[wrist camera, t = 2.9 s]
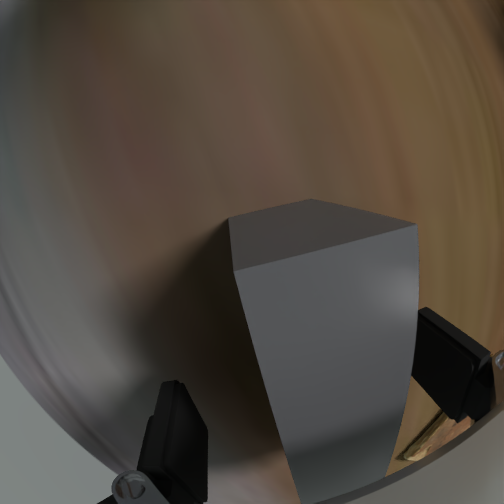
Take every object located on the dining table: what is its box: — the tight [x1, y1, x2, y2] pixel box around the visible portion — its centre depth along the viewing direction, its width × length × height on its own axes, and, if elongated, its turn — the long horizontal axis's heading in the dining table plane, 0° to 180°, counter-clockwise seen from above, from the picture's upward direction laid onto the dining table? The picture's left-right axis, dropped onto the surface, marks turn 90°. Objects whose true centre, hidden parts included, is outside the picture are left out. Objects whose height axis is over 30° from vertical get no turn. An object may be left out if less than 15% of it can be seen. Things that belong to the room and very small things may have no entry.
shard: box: [403, 354, 493, 461], centre depth 14 cm, size 11×8×2 cm
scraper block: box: [228, 199, 419, 504], centre depth 8 cm, size 12×3×6 cm, turn 13°
